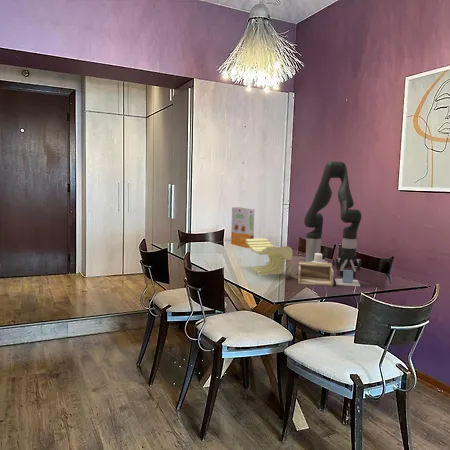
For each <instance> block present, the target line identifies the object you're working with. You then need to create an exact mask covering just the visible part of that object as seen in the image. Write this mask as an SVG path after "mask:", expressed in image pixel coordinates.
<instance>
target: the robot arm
mask: <svg viewBox="0 0 450 450" xmlns="http://www.w3.org/2000/svg"><path fill="white" fill-rule="evenodd" d="M331 179H340V185H339V189H338V190H337V199H338V202H339V204H340V215H339V216H340V217H339V218H340V220H341V221H342V222H343V223H345V224H350V223H351V224H350V225H349V226H346V227H344V228H343V230H342V242H341V252H340V253H341V255H340V257H336V258H334V261H335V267H336V270H338V271H339V276H340V279H342V277H343V270H344V268H345V266H347V267H348V266H349V267H351V268H352V271H353V279H355V278H356V276H357V273H356V272H360V270H361V267H362V266H361V265H362V262H363V260H362V259H360V258H357V247H358V244H357V243H358V242H357V237H358V234H357V233H358V229H359V226H360V224H361V220H362V212H361V211H360V210H359V209H354V208H353V209H351V208H352V207H354V204H355V202H354V199H353V196H352V193H351V190H350V189H351V188H350V184H349V183H350V182H349V175H348V169H347V165H346V163H345V162H343V161H327V163H326V164H325V167H324V169H323V172H322V176H321V179H320V182H319V185H318V188H317V190H316V191H315V192H316V193H315V194H314V198H313V200H312V202H311V204H310V207H309V208H308V210H307V212H306V214H305V217H304V221H303V222H304V226H305V227H306V228H309V229H310V228H314V229H313V230H311V231H309V232H307V233H306V238H305V239H306V240H305V261H304V262H311V261H314V255H315V253H321V249H322V248H321V247H322V235H323V234H322V233H323V225H324V216H323V214H322V213H319V212H320V211H322V210H323V209H324V208H326V206H327V205H328V204H329V203H330V200H331V198H332V195H333V192H332V191H333V190H332V189H331V186H330V181H331ZM340 261H341V262H342V263H341V265H340V266H339V263H340ZM355 263H357V266H356V267H355Z"/></svg>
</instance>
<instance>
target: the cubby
mask: <svg viewBox="0 0 450 450" xmlns="http://www.w3.org/2000/svg"><path fill="white" fill-rule="evenodd" d="M297 272H298V273H297V274H298V275H297V279H298V280H297V284H298V285H313V286H327V287H334V279H335V277H334V276H335V275H334V274H335V271H334V269H333V264H332V262H328V263H318V262H305V261H298V271H297Z"/></svg>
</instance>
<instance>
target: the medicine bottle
mask: <svg viewBox="0 0 450 450" xmlns="http://www.w3.org/2000/svg"><path fill="white" fill-rule="evenodd" d="M311 262H318V263H329V262H328V261H327V260H326V254H325V253H323V252H320V253H315V255H314V261H311Z"/></svg>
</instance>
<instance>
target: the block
mask: <svg viewBox="0 0 450 450" xmlns="http://www.w3.org/2000/svg"><path fill="white" fill-rule="evenodd" d="M341 279H342V282H343V283H353V280H354V278H353V269H343V277H342V278H341Z"/></svg>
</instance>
